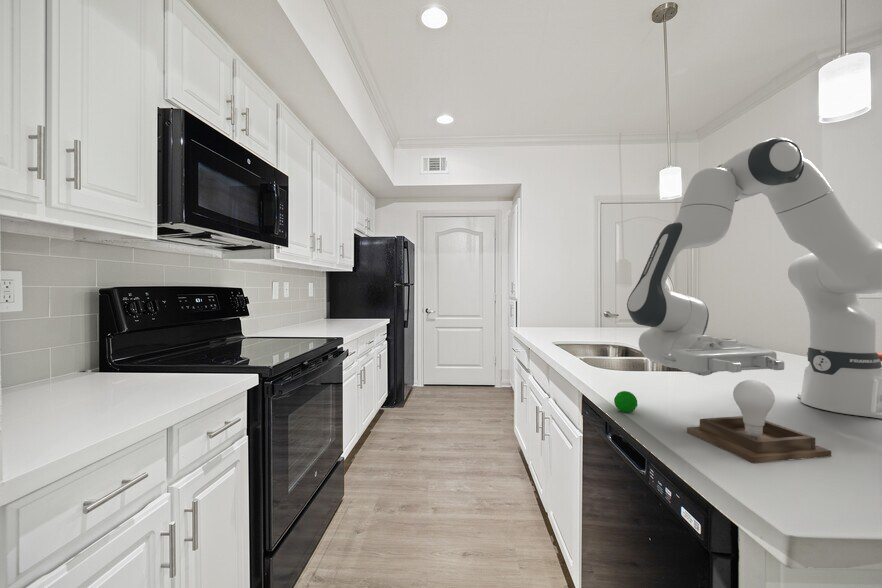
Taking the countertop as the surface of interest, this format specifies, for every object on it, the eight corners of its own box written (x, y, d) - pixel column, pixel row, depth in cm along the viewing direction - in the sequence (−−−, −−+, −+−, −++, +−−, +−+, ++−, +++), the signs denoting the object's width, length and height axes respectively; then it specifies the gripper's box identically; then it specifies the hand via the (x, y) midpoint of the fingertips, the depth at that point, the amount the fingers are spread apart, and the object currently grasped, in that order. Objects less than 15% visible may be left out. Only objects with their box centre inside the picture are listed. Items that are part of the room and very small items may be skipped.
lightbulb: (759, 433, 75) (759, 377, 75) (783, 445, 69) (783, 384, 69) (726, 431, 76) (725, 376, 76) (747, 444, 70) (746, 383, 70)
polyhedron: (609, 410, 92) (610, 391, 92) (621, 407, 95) (621, 388, 95) (629, 416, 88) (630, 396, 88) (641, 412, 91) (641, 392, 91)
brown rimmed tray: (753, 427, 81) (754, 413, 81) (831, 456, 67) (831, 439, 67) (687, 432, 78) (687, 417, 78) (753, 463, 64) (753, 445, 64)
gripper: (656, 341, 83) (711, 352, 70) (737, 338, 87) (804, 348, 73) (657, 370, 84) (711, 386, 70) (737, 366, 87) (804, 381, 73)
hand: (760, 367), depth 72 cm, fingers open, 8 cm apart
